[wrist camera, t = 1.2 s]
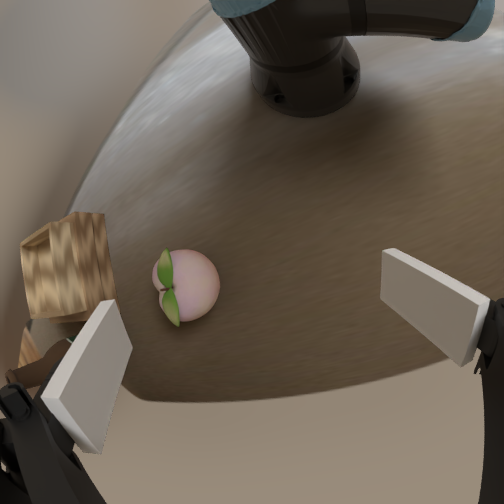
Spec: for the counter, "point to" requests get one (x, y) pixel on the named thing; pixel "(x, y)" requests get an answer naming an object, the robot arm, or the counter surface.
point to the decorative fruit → (185, 284)
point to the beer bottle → (39, 365)
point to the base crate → (91, 264)
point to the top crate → (52, 272)
